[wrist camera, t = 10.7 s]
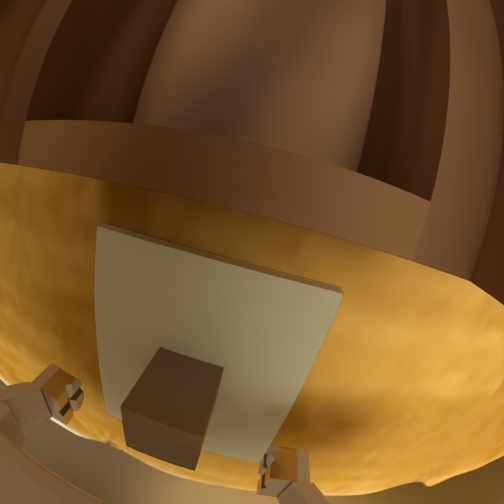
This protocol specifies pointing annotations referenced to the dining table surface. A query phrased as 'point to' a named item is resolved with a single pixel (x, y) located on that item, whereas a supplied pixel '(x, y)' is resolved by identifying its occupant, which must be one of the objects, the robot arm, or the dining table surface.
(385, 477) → the dining table surface
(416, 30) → the box
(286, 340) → the cover plate
